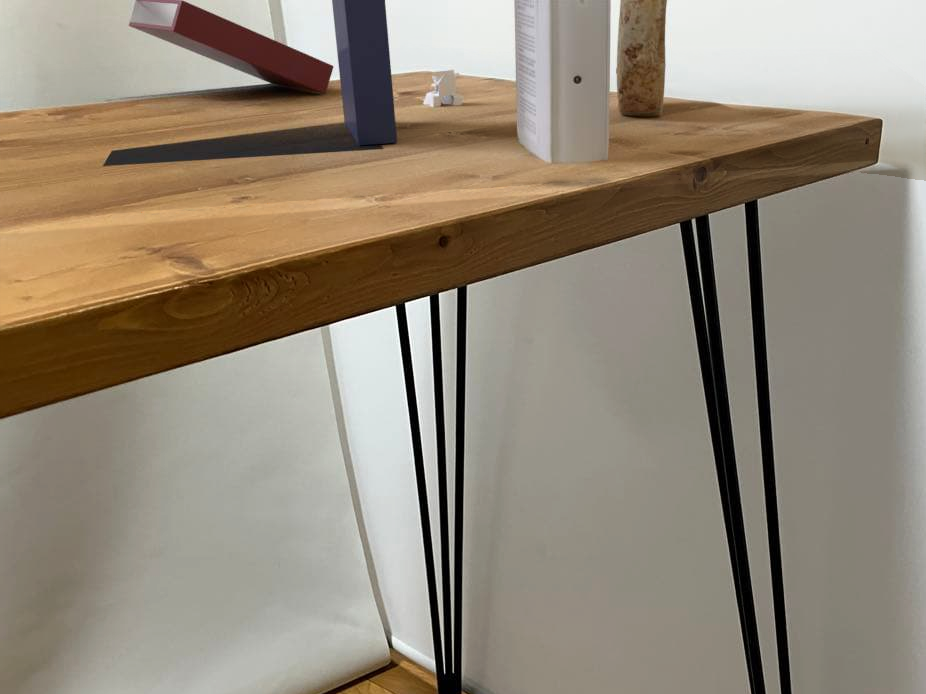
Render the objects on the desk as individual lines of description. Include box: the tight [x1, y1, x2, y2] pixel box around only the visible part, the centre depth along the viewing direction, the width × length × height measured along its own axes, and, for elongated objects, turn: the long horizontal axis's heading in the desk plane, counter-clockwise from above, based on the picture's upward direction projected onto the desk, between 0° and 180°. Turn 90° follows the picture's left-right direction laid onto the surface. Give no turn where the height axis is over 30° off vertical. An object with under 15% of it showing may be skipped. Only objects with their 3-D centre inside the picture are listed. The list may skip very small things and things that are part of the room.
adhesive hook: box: [422, 69, 464, 108], centre depth 89 cm, size 3×3×3 cm
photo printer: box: [513, 0, 612, 164], centre depth 67 cm, size 10×4×12 cm, turn 13°
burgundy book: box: [128, 0, 334, 95], centre depth 95 cm, size 14×10×2 cm
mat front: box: [102, 122, 385, 167], centre depth 74 cm, size 17×13×1 cm
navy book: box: [331, 0, 398, 147], centre depth 73 cm, size 14×10×2 cm
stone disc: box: [615, 0, 668, 118], centre depth 82 cm, size 10×4×10 cm, turn 171°
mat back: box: [103, 83, 338, 107], centre depth 96 cm, size 17×13×1 cm
